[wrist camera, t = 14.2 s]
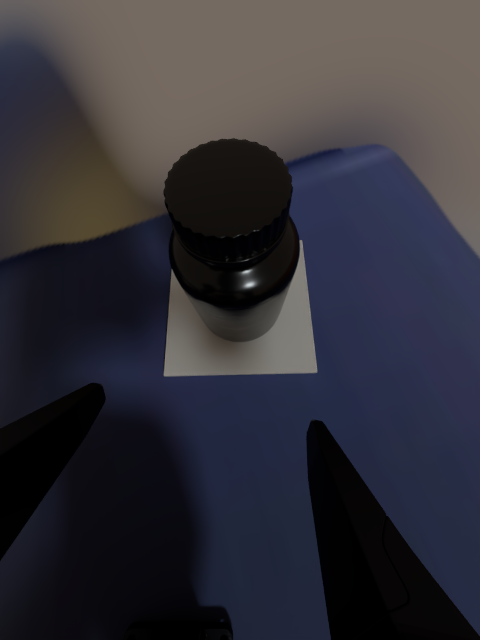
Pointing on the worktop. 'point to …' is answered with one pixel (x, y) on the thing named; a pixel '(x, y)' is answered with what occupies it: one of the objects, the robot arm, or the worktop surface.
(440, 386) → the worktop surface
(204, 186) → the supplement bottle
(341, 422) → the worktop surface
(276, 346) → the place mat
